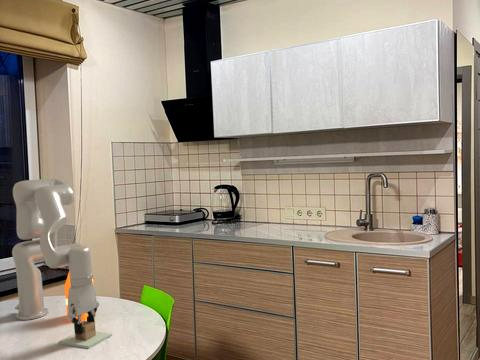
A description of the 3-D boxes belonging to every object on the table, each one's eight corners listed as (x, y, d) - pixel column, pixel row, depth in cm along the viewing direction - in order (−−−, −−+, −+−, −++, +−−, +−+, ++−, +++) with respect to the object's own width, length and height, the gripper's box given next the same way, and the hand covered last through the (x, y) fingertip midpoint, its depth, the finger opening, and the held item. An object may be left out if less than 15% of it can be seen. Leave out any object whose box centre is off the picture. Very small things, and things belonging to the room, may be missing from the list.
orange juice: (85, 320, 196) (81, 272, 195) (66, 319, 199) (63, 271, 198) (96, 314, 204) (93, 267, 202) (79, 313, 207) (75, 266, 205)
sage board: (58, 343, 173) (58, 341, 173) (83, 331, 184) (82, 329, 184) (88, 348, 167) (88, 346, 167) (112, 335, 178) (112, 333, 178)
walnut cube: (75, 339, 174) (74, 325, 174) (85, 334, 179) (84, 320, 179) (86, 340, 172) (85, 327, 172) (95, 335, 177) (94, 322, 177)
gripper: (90, 274, 184) (93, 321, 185) (55, 287, 168) (59, 338, 169) (105, 275, 180) (109, 323, 182) (71, 288, 165) (75, 341, 166)
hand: (85, 330), depth 175 cm, fingers open, 5 cm apart
